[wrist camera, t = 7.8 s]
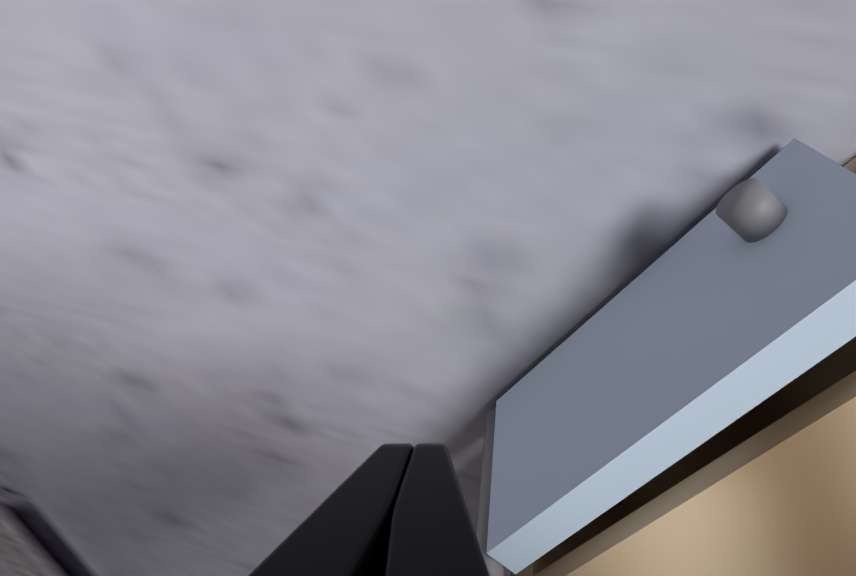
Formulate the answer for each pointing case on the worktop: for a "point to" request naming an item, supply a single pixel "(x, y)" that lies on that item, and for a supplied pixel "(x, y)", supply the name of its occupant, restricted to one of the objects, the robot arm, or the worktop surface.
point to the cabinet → (742, 495)
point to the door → (674, 356)
